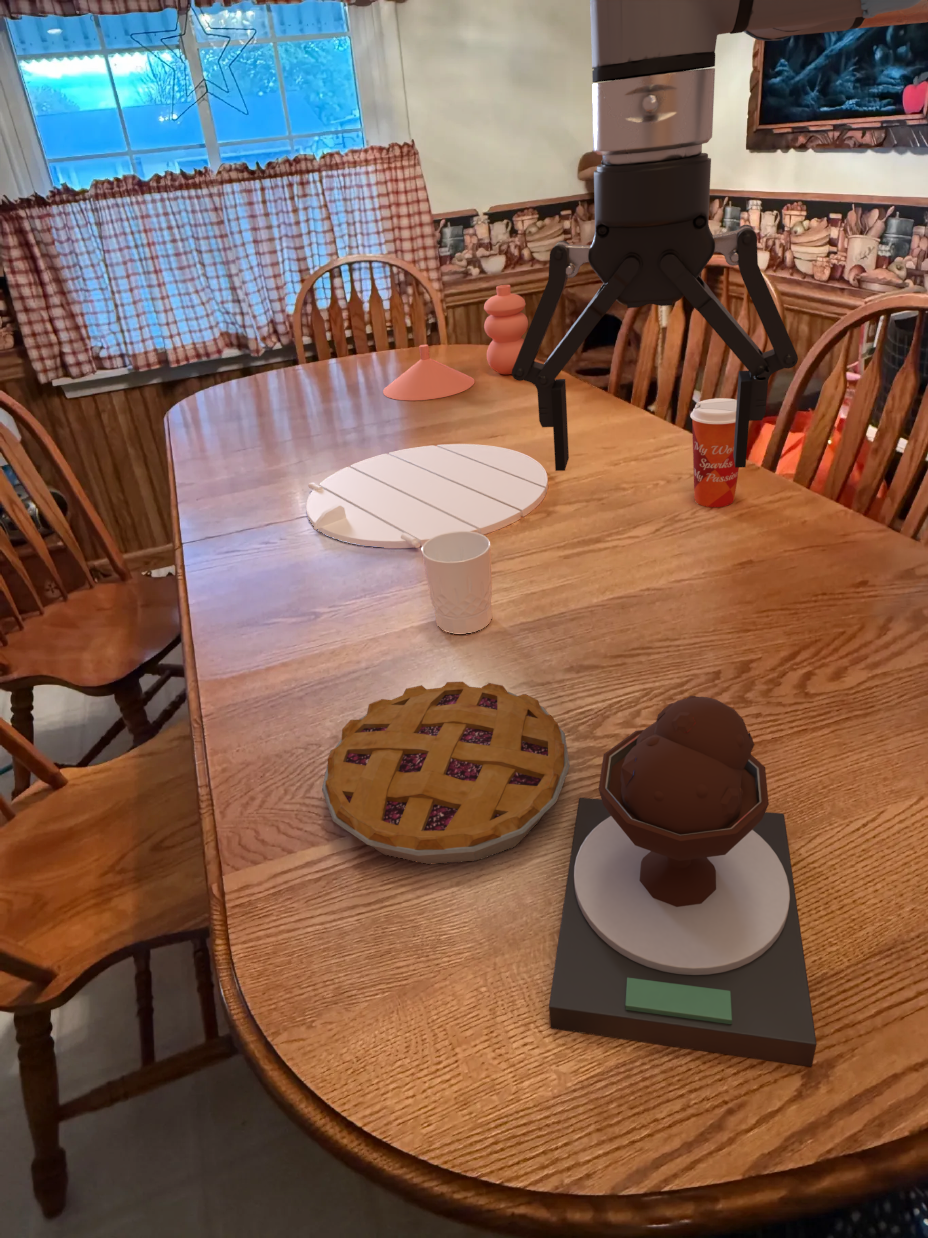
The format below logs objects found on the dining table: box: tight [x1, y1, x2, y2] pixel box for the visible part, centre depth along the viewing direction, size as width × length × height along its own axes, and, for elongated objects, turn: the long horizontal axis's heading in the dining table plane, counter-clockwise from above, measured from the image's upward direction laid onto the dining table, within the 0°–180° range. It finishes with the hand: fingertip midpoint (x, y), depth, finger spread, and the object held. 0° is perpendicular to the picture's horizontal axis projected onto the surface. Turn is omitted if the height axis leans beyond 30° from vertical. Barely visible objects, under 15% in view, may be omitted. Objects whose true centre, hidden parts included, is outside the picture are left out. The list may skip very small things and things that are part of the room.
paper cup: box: [689, 397, 740, 508], centre depth 116 cm, size 8×8×14 cm
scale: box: [548, 797, 818, 1067], centre depth 59 cm, size 16×19×3 cm
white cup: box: [421, 531, 493, 633], centre depth 96 cm, size 8×8×10 cm
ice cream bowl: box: [598, 695, 770, 907], centre depth 55 cm, size 11×11×15 cm
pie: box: [321, 681, 570, 865], centre depth 73 cm, size 22×22×5 cm
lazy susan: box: [305, 443, 549, 549], centre depth 132 cm, size 40×39×3 cm
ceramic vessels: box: [382, 284, 529, 401], centre depth 184 cm, size 35×21×19 cm, turn 105°
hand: (648, 463), depth 65 cm, fingers open, 13 cm apart
